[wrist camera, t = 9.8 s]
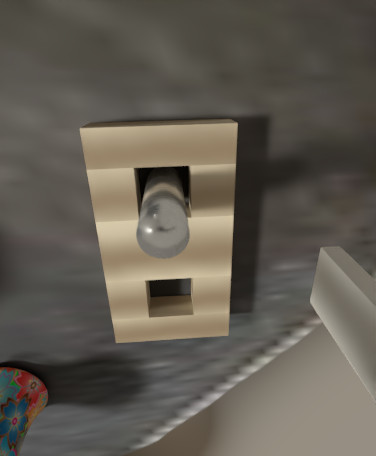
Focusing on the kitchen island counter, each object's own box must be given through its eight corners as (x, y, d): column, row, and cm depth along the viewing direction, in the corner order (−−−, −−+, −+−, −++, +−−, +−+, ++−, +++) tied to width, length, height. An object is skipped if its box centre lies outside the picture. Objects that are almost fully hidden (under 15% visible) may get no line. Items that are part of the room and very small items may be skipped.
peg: (145, 166, 25) (133, 212, 16) (180, 165, 26) (188, 209, 16) (148, 200, 27) (138, 260, 18) (182, 198, 27) (190, 257, 18)
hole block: (89, 123, 24) (79, 128, 21) (229, 118, 24) (237, 123, 21) (120, 321, 32) (116, 342, 30) (223, 314, 33) (228, 335, 30)
